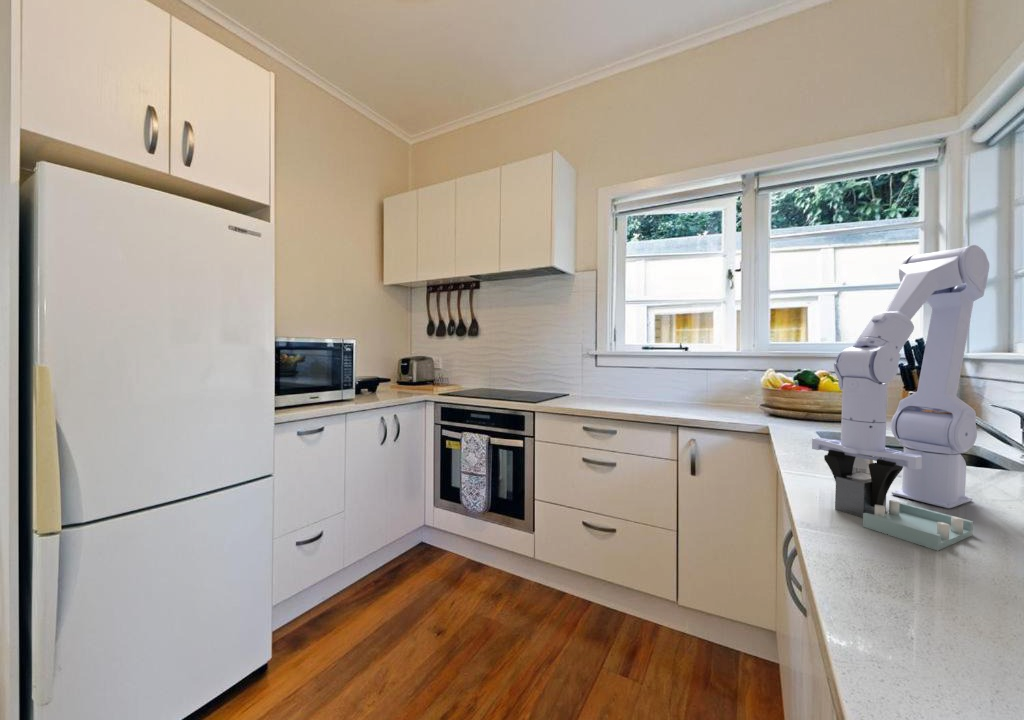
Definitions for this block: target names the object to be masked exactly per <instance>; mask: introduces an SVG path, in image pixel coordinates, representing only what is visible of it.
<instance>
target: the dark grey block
mask: <svg viewBox="0 0 1024 720" xmlns="http://www.w3.org/2000/svg"><path fill="white" fill-rule="evenodd" d="M871 492H872V483H871V475H870V474H868V473H864V472H860V471H858V472H853V473H849V474H845V475H840V476H836V481H835V494H834V495H835V501H834V510H836V511H840V512H843V513H846V514H849V515H853V516H856V517H859V518H862V519H863V513H869V514H873V515H874V513H875V507H872V504H871ZM883 506H885V512H886V510H887V496H886V497H885V500H884V503H883Z"/></svg>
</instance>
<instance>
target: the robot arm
mask: <svg viewBox="0 0 1024 720" xmlns="http://www.w3.org/2000/svg"><path fill="white" fill-rule="evenodd" d="M989 272H990V261H989V260H988V256H987V253H986V251H985V250H984V249H983V248H982V247H980V246H979V245H976V244H971V245H967V246H964V247H958V248H951V249H945V250H939V251H933V252H929V253H928V252H927V253H920V254H911V255H908V256H907V257H905V258H904V260H903V262H902V263H901V265H900V267H899V269H898V276H899V277H898V279H899V282H900V284H899V285H898V287H897V289H896V291H895V293H894V296H893V297H892V299H891V301H890V302H889V304H888V306H887V308H886V311H884V312H878V313H877V314H874V315H873V317H872V318H871V319H870V321H868V324H867V325H866V326H865V328H864V330H862V331H861V334H860V335H859V337H858V338H857V340H856V341H855V342H854V344H853V345H852V346H851V347H847V348H844V349H843V350H842V351H840V352H839V353H838V355H837V357H836V359H835V362H834V363H833V370H834V372H835V376H836V378H837V380H838V385H837V386H838V388H839V390H840V391H841V393H842V395H841V398H842V399H841V423H840V425H841V426H840V427H841V428H840V430H841V431H840V440H839V439H831V438H823V437H812V440H811V449H812V450H816V451H820V450H821V451H824V452H828V453H827V454H825V455H823V457H824V462H825V463H826V464H827V467H829V469H830V472H831V473H832V475H833V478H834V481H835V482H836V476H840V475H845V474H849V473H852V470H853V465H854V461H855V458H856V457H859V458H864V459H869V460H873V463H871V464H869V470H870V475H871V483H872V492H871V504H872V507H875V505H882V506H883V503H884V500H885V497H886V498H887V494H888V492H889V489H890V488H891V485H892V484H893V482H894V481H895V479H896V478H897V477H898V475H899V474H900V473H901V472H902V483H901V484H902V485H901V486H902V487H901V488H899V489H895V490H893V491H891V495H893V496H899V497H903V498H905V499H910V500H914V501H917V502H921V503H925V504H929V505H933V506H937V507H941V508H945V509H952V508H955V507H958V506H961V505H964V504H966V503H969V502H972V501H973V497H971V496H967V495H966V485H967V483H966V481H967V480H966V479H967V464H966V460H965V459H964V457H963V456H962V455H961V454H965V453H966V452H968V451H969V450H970V449H971V448H973V447H974V445H975V443H976V441H977V437H978V429H977V425H976V424H977V423H976V422H977V421H976V419H977V414H976V413H977V412H976V411H975V409H973V407H971V406H970V405H969V404H968V403H966V402H964V401H963V400H962V399H961V398H959V397H958V396H957V395H958V389H959V384H960V379H961V375H962V374H961V373H962V367H963V362H964V357H965V351H966V345H967V341H968V335H969V330H970V329H969V328H970V323H971V318H972V313H973V306H974V302H975V301H977V300H979V299H980V298H982V297H984V295H985V290H986V288H987V284H988V283H987V281H988V278H989ZM924 304H926V305H929V306H930V307H931V315H930V320H929V325H928V330H927V336H926V341H925V346H924V352H923V357H922V358H923V359H922V363H921V369H920V374H919V379H918V384H917V391H915V392H913V393H912V394H911V395H908V396H906V397H904V398H902V399H901V400H899V403H898V407H897V409H896V411H895V413H893V416H892V418H891V421H890V431H891V433H892V435H893V436H894V439H896V440H897V441H898V445H899V446H903V451H901V450H896V449H893V448H889V447H886V440H887V439H886V438H887V433H886V432H887V412H888V411H887V409H888V407H887V405H888V404H887V403H888V383H891V382H892V380H894V378H896V376H897V375H898V371H899V361H900V360H901V353H900V352H901V350H902V349H903V347H904V346H905V344H906V343H907V341H908V340H909V338H910V337H911V335H912V333H913V332H914V330H915V326H914V324H913V321H912V319H913V317H914V316H915V315H917V313H918V312H919V310H920V309H921V308H922V306H923V305H924ZM868 455H869V456H868ZM874 461H875V462H874Z"/></svg>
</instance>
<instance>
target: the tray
mask: <svg viewBox="0 0 1024 720" xmlns="http://www.w3.org/2000/svg"><path fill="white" fill-rule="evenodd" d="M888 502H889V503H888V506H889V507H888V513H886V511H885V506H882V505H875V513H874V515H873V514H869V513H863V518H862V527H863V528H866V529H869V530H872V531H875V532H879V533H881V532H882V534H885V535H887V534H888V535H887V536H891V537H894V538H897V539H900V540H904V541H907V542H909V543H913V544H916V545H919V546H922V547H926V548H928V549H932V550H935V551H937V552H938V551H940V550H943V549H946V548H947V547H949V546H952V545H954V544H956V543H958V542H960V541H962V540H965V539H967V538H970V537H972V536H973V535H974V521H973V520H969V519H966V518H961V517H958V516H954V515H951V514H946V513H942V512H939V511H935V510H931V509H928V508H923V507H920V506H916V505H912V504H909V503H904V502H901V501H897V500H893V499H891V500H889V501H888Z"/></svg>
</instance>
